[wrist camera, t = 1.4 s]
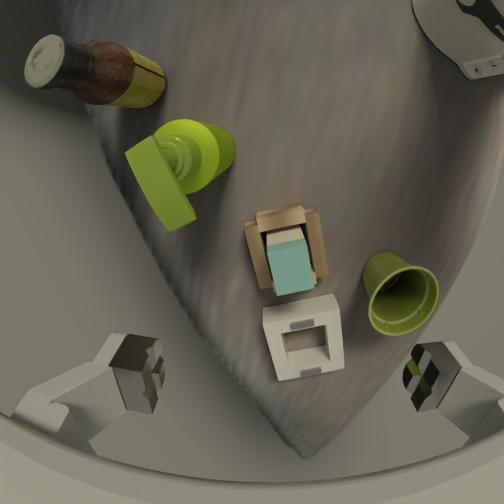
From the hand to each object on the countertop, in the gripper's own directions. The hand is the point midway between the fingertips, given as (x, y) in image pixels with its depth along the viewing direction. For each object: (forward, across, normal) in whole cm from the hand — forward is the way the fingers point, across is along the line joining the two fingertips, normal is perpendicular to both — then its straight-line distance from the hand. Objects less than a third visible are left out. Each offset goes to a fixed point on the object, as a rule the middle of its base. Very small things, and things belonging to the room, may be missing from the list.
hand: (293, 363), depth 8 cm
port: (+29, -7, +19) cm, 35 cm away
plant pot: (+28, -17, +9) cm, 34 cm away
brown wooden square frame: (+28, -3, +6) cm, 29 cm away
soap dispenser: (+29, +7, -5) cm, 30 cm away
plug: (+28, -3, +6) cm, 29 cm away
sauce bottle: (+29, +16, -14) cm, 35 cm away
